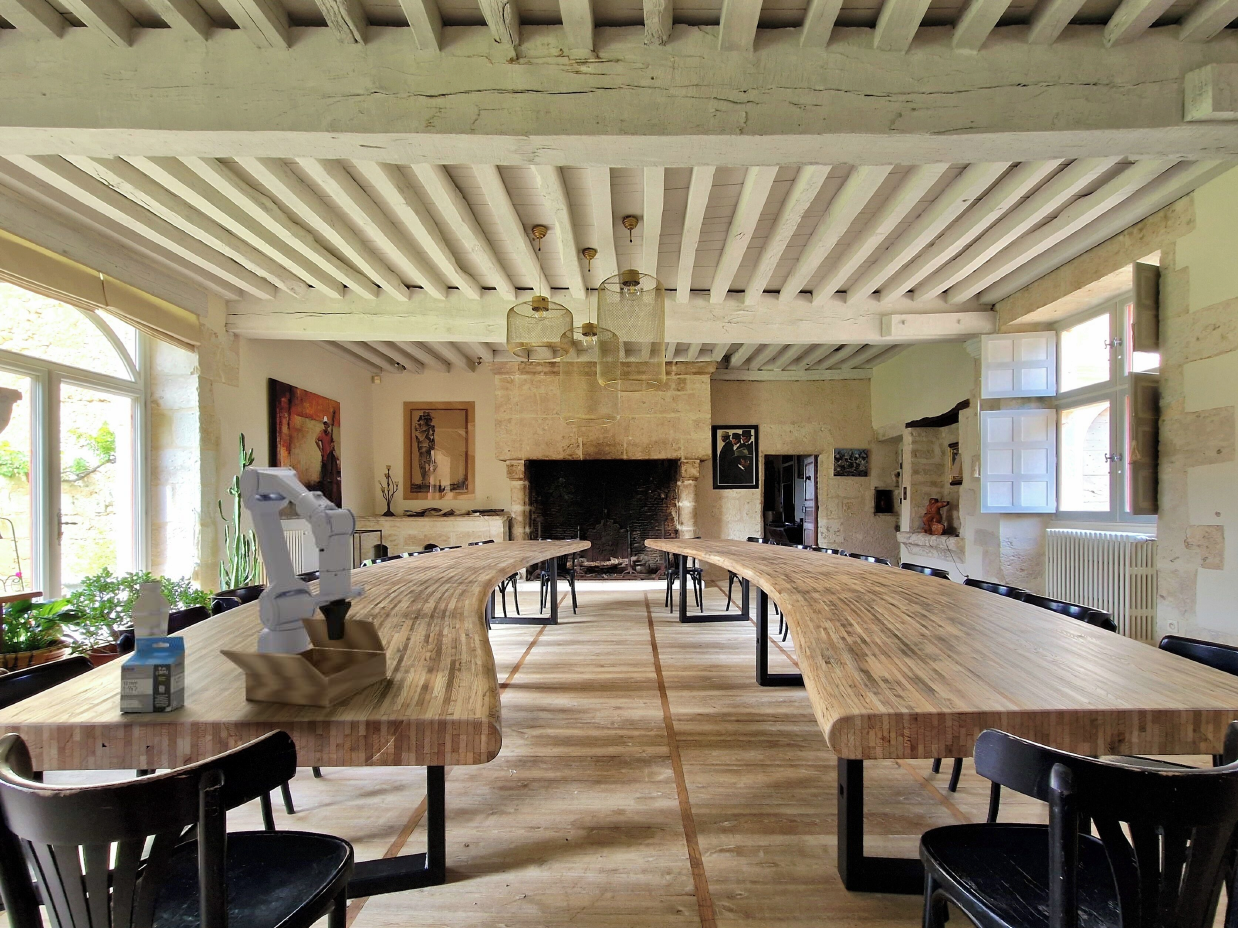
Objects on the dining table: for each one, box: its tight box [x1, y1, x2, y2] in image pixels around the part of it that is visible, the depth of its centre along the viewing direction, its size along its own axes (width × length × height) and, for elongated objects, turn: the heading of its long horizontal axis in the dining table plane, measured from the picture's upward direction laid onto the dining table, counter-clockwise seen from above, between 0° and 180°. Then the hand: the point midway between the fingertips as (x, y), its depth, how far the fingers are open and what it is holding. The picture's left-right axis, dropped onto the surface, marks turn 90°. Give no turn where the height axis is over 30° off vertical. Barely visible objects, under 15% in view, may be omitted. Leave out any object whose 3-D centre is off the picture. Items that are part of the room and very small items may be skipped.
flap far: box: [300, 617, 386, 652], centre depth 120 cm, size 17×8×1 cm
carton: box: [244, 647, 388, 709], centre depth 114 cm, size 18×16×5 cm
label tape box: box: [119, 635, 186, 713], centre depth 106 cm, size 9×4×12 cm, turn 92°
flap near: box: [219, 649, 325, 679], centre depth 104 cm, size 17×8×1 cm
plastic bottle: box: [130, 579, 171, 654], centre depth 122 cm, size 6×7×20 cm
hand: (336, 639), depth 118 cm, fingers closed, pressing on flap far
